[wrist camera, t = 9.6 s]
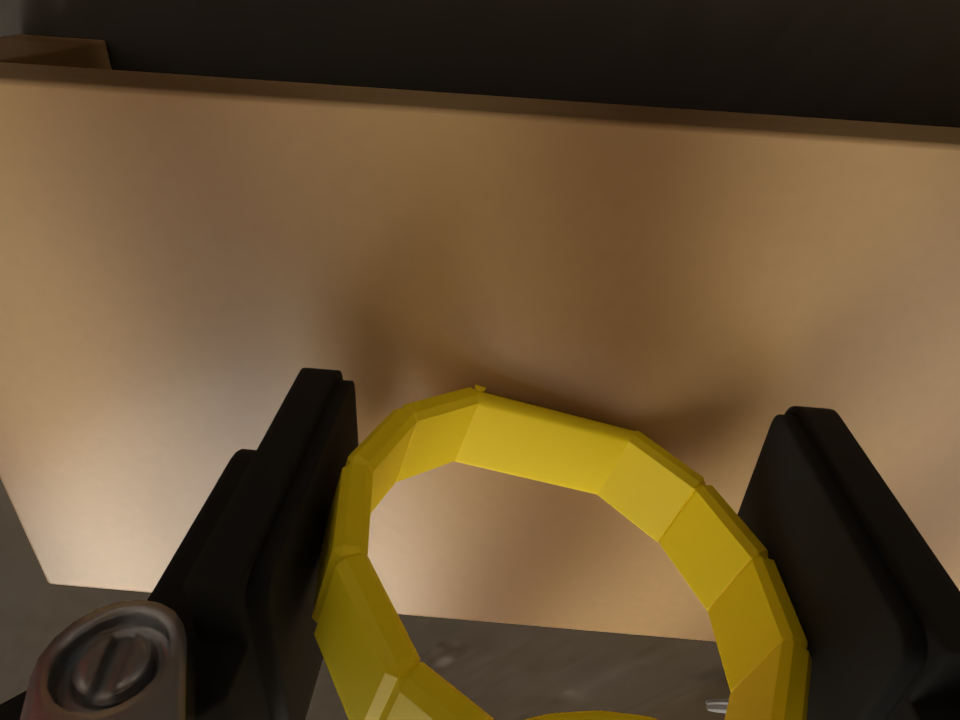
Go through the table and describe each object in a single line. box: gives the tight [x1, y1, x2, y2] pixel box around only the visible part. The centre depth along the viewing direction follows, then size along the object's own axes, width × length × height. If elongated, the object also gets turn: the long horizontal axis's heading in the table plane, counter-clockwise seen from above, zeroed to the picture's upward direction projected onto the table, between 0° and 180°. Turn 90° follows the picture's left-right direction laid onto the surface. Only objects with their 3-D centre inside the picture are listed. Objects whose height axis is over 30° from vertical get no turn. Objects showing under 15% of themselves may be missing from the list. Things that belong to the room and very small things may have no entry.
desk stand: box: [0, 34, 960, 641], centre depth 12 cm, size 20×10×4 cm, turn 87°
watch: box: [312, 384, 812, 720], centre depth 8 cm, size 6×3×6 cm, turn 72°
